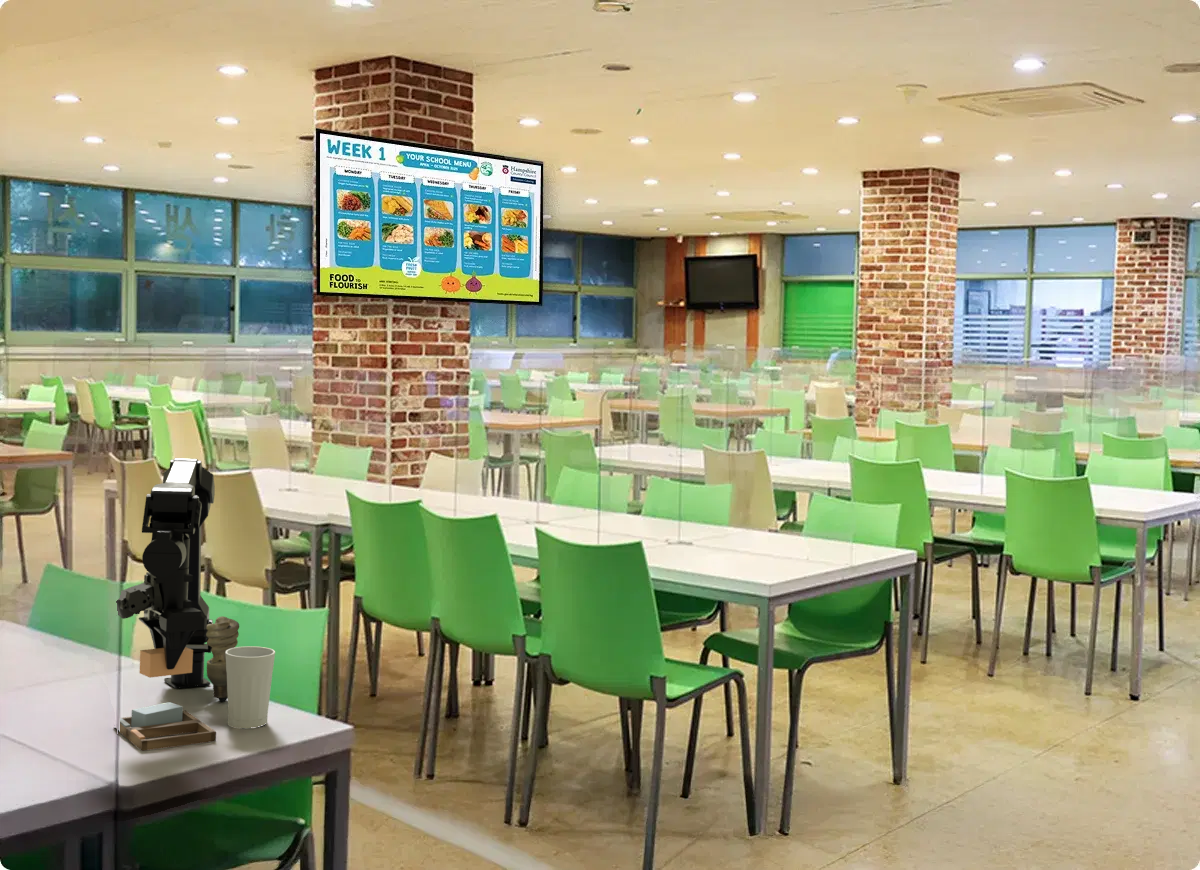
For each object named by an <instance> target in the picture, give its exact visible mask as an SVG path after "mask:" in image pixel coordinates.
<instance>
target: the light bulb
mask: <svg viewBox="0 0 1200 870" xmlns="http://www.w3.org/2000/svg"><path fill="white" fill-rule="evenodd" d="M206 629H207V630H208V631H207V633H206V636H207V637H208V638H209V639H208V641H207V642H206V644H207V645H209V646H211V647H212V649H211V654H212V657H211V658H210V659H208V660H207V661H206V676H207V680H208V681H209V682H210V684H212V687H213V689H212V690H213V699H218V701H219V702H220V703H222V702H223V703H224V702H227V701H228V693H227V671H226V655H225V652H226V650H228V649H231V648H236V647H237V645H238V642H239V641H238V637H239V636H240V635H239V629H240V624H239V622H238V621H237V620H235V619H233V618H229V617H226V616H222V615H221V616H218V617H217V618H216V619H215V622H214V623H213V624H207V628H206Z"/></svg>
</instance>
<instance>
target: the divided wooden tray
mask: <svg viewBox="0 0 1200 870" xmlns="http://www.w3.org/2000/svg"><path fill="white" fill-rule="evenodd" d="M119 718H120V732H119V734H120V735H122V736H123V737H124V738H126V739H127V740H128V741H129V742H131V744H133V746H135V747H136V748H137V749H139V750H140V751H141V752H143V751H150V750H158V749H159V750H160V749H166V748H173V747H175V748H176V747H182V746H183V747H184V746H188V745H195V744H206V743H211V742H216V740H217V732H216V731H215V730H214V729H213V728H211V727H210V726H208V725H207V724H206V723H204V722H203V721H202V720H200V719H198V718H197V717H196V716H194V715H193V714H191V713H190V712H189V711H187V710H183V715H182V722H174V723H166V724H158V725H150V726H141V727H133V728H131V720H132V716H126V717H119Z"/></svg>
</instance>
